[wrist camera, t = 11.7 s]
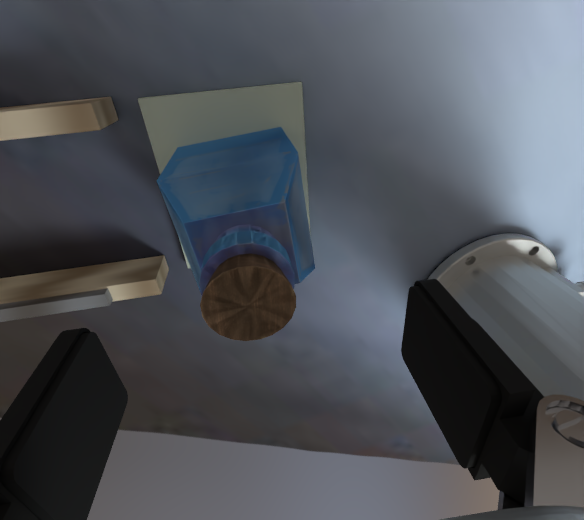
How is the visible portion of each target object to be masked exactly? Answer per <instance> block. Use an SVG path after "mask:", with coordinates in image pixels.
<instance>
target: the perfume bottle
mask: <svg viewBox="0 0 584 520" xmlns="http://www.w3.org/2000/svg"><path fill="white" fill-rule="evenodd" d="M157 183H158V186H159V188H160V191H161V193H162V196H163V199H164V201H165V204H166V206H167V209H168V211H169V214H170V216H171V219H172V221H173V224H174V226H175V229H176V231H177V234H178V236H179V239H180V242H181V244H182V247H183V249H184V252H185V254H186V257H187V259H188V262H189V264H190V267H191V269H192V272H193V274H194V277H195V279H196V282H197V285H198V287H199V290H200V292H201V295H202V300H201V304H200V306H201V311H202V317H203V318H204V320H205V321H206V323H207V324H208V326H209V327H210V328H212V329H213V330H214V331H215V332H217V333H218V334H219V335H222V336H225V337H227V338H230V339H234V340H242V341H249V340H258V339H262V338H265V337H268V336H271V335H273V334H274V333H276V332H277V331H279V330H281V329H282V328H283V327H284V326H285V325H286V324H287V323H288V322H289V320H290V319H291V318H292V316H293V313H294V311H295V308H296V295H295V293H294V290H293V289H294V284H298V283H300V282H301V281H302V280H303V279H304V278H305V277H306V276H307V275H309V274H310V273H311V272H312V271H313V270H314V269H315V264H314V258H313V251H312V244H311V237H310V230H309V224H308V217H307V210H306V203H305V196H304V190H303V183H302V176H301V169H300V162H299V155H298V151H297V150H296V148H295V147H294V145H293V144H292V142H291V141H290V139H289V138H288V136H287V135H286V134H285V132H284V131H283V129H282V128H281V127H277V128H272V129H267V130H262V131H257V132H252V133H247V134H242V135H237V136H232V137H227V138H222V139H217V140H212V141H207V142H202V143H197V144H192V145H187V146H182V147H177V149H176V151H175V152H174V154H173V155H172V157H171V159H170V160H169V162H168V163H167V165H166V167H165V168H164V170H163V171H162V173H161V175H160V176H159V178H158V179H157Z"/></svg>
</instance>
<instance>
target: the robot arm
mask: <svg viewBox="0 0 584 520" xmlns="http://www.w3.org/2000/svg"><path fill="white" fill-rule="evenodd" d="M401 351H402V357H403V360H404V362H405V364H406V365H407V367H408V369H409V371H410V373H411V375H412V377H413V379H414V380H415V382H416V384H417V386H418V388H419V390H420V392H421V393H422V395H423V397H424V399H425V401H426V403H427V405H428V407H429V408H430V410H431V412H432V414H433V416H434V418H435V420H436V421H437V423H438V425H439V427H440V429H441V431H442V433H443V435H444V436H445V438H446V440H447V442H448V444H449V446H450V448H451V450H452V451H453V453H454V455H455V457H456V459H457V461H458V462H459V464H460V465H461V466H462V467H463V468H468V470H469V471H470V473H471V475H472V476H473V479H474V480H479V479H485V478H490V477H491V479H492V480H493V482H494V484H495V485H496V487H497V489H498V490H500V493H499V502H498V510H496V511H490V512H484V513H477V514H471V515H466V516H459V517H452V518H446V519H440V520H584V281H583V282H577V283H576V284H574V283H573V282H571V281H570V280H568V279H567V278H565V277H564V276H562V275H561V274H559V273H558V272H557V263H556V259H555V257H554V255H553V253H552V252H551V250H550V249H549V248H547V247H546V246H545V245H544V244H543V243H541V242H539V241H537V240H535V239H534V238H532V237H530V236H526V235H522V234H513V233H505V234H498V235H492V236H489V237H486V238H483V239H480V240H477V241H475V242H473V243H471V244H469V245H467V246H465V247H463V248H461V249H460V250H458V251H457V252H455V253H454V254H452V255H451V256H450V257H448V258H447V259H446V260H445V261H444V262H443V263H441V264H440V265H439V266H438V267H437V269H436V270H435V271H434V272H433V273H432V274H431V275H430V277H429V278H428V280H421V281H416V282H415V284H414V286H413V287H410V289H409V294H408V301H407V309H406V317H405V325H404V333H403V340H402V348H401ZM127 400H128V395H127V391H126V389H125V387H124V385H123V383H122V382H121V380H120V378H119V376H118V374H117V372H116V370H115V368H114V366H113V365H112V363H111V361H110V359H109V357H108V355H107V353H106V351H105V349H104V348H103V346H102V344H101V342H100V340H99V338H98V336H97V335H96V333H94V332H90V331H89V330H88V329H87V328H81V329H73V330H66V331H63V332H61V333H60V334H59V336H58V337H57V339H56V340H55V342H54V343H53V344H52V346H51V347H50V349H49V350H48V352H47V353H46V355H45V356H44V358H43V359H42V361H41V362H40V363H39V365H38V366H37V368H36V369H35V371H34V372H33V374H32V375H31V377H30V378H29V379H28V381H27V382H26V384H25V385H24V387H23V388H22V390H21V391H20V393H19V394H18V395H17V397H16V398H15V400H14V401H13V403H12V404H11V406H10V407H9V409H8V410H7V412H6V413H5V414H4V416H3V417H2V419H1V420H0V520H87V517H88V514H89V511H90V509H91V505H92V503H93V500H94V497H95V494H96V491H97V488H98V485H99V483H100V480H101V477H102V474H103V471H104V468H105V465H106V462H107V460H108V457H109V454H110V451H111V448H112V445H113V442H114V439H115V437H116V434H117V431H118V428H119V425H120V422H121V419H122V416H123V414H124V411H125V408H126V405H127Z"/></svg>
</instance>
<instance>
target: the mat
mask: <svg viewBox="0 0 584 520" xmlns="http://www.w3.org/2000/svg"><path fill="white" fill-rule="evenodd" d="M138 102H139V105H140V109H141V112H142V116H143V119H144V122H145V126H146V129H147V132H148V136H149V139H150V142H151V146H152V149H153V152H154V156H155V159H156V163H157V166H158V169H159V173H160V175H161V173H162V171H163V170H164V168H165V167H166V165H167V163H168V162H169V160H170V159H171V157H172V155H173V154H174V152H175V151H176V149H177V147H182V146H187V145H192V144H197V143H202V142H207V141H212V140H217V139H222V138H227V137H232V136H237V135H242V134H247V133H252V132H257V131H262V130H267V129H272V128H277V127H281V128H282V129H283V131H284V132H285V134H286V135H287V136H288V138H289V139H290V141H291V142H292V144H293V145H294V147H295V148H296V150H297V151H298V155H299V162H300V169H301V176H302V183H303V190H304V196H305V203H306V210H307V217H308V224H309V230H310V218H309V200H308V182H307V164H306V146H305V128H304V110H303V91H302V82H292V83H282V84H272V85H262V86H252V87H242V88H232V89H222V90H212V91H203V92H193V93H183V94H173V95H163V96H153V97H143V98H139V99H138ZM310 237H311V236H310ZM179 240H180V239H179ZM180 243H181V242H180ZM181 247H182V244H181ZM182 250H183V253H184V257H185V260H186V263H187V267H188V268H191V267H190V264H189V262H188V259H187V257H186V254H185V252H184V249H183V247H182Z"/></svg>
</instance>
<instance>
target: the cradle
mask: <svg viewBox="0 0 584 520" xmlns="http://www.w3.org/2000/svg"><path fill="white" fill-rule="evenodd" d="M118 120H119V119H118V116H117V113H116V110H115V107H114V104H113V101H112V98H111V97H102V98H92V99H82V100H72V101H62V102H52V103H42V104H32V105H22V106H12V107H2V108H0V141H3V140H12V139H21V138H31V137H40V136H49V135H58V134H68V133H77V132H86V131H95V130H102V129H103V128H105V127H107V126H109V125H111V124H113V123H114V122H116V121H118ZM168 270H169V268H168V265H167V262H166V259H165V256H164V255H163V256H156V257H149V258H142V259H134V260H127V261H120V262H113V263H106V264H99V265H92V266H85V267H78V268H71V269H64V270H57V271H49V272H42V273H35V274H28V275H21V276H14V277H7V278H0V322H4V321H10V320H17V319H24V318H30V317H37V316H43V315H50V314H57V313H63V312H70V311H76V310H83V309H89V308H96V307H103V306H109V305H111V303H112V301H119V300H126V299H132V298H139V297H145V296H152V295H159V294H161V293H162V290H163V287H164V284H165V280H166V277H167V274H168Z"/></svg>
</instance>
